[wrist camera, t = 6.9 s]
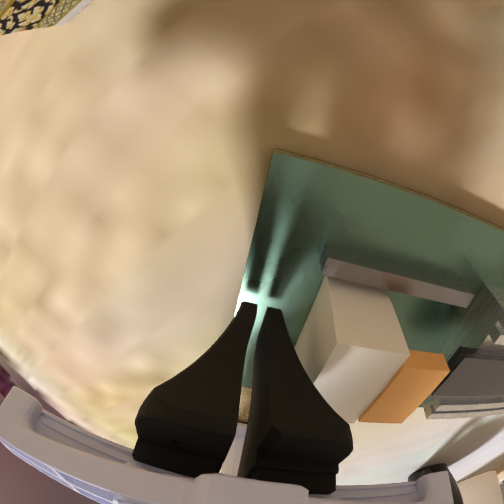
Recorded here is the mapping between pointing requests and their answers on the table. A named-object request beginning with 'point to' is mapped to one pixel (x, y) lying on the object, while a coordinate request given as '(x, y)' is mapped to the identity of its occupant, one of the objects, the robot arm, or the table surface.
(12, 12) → the ceramic cup
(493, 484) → the cylinder
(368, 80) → the table surface
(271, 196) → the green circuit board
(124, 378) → the table surface
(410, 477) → the mug
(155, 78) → the table surface
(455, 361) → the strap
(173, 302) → the table surface
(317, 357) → the block
